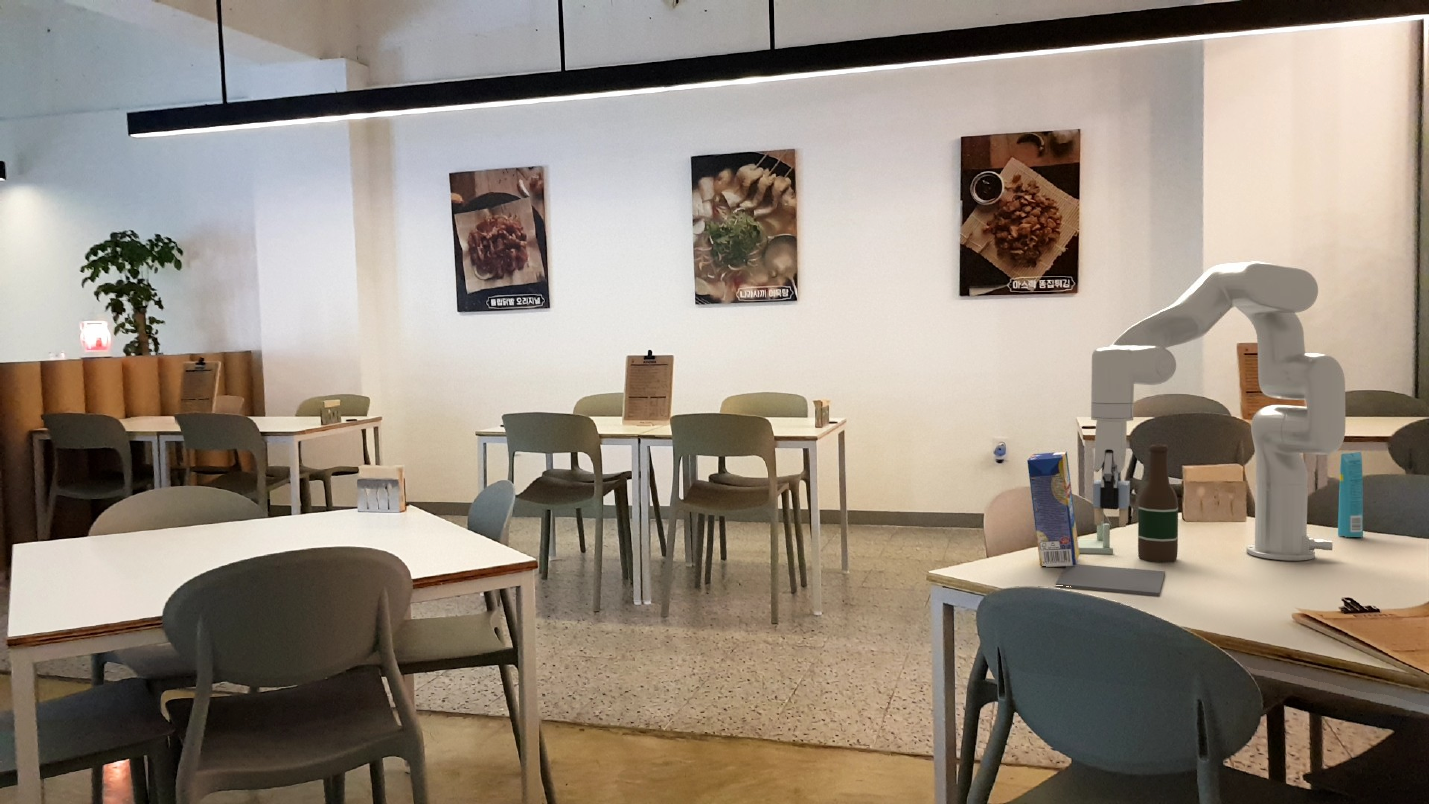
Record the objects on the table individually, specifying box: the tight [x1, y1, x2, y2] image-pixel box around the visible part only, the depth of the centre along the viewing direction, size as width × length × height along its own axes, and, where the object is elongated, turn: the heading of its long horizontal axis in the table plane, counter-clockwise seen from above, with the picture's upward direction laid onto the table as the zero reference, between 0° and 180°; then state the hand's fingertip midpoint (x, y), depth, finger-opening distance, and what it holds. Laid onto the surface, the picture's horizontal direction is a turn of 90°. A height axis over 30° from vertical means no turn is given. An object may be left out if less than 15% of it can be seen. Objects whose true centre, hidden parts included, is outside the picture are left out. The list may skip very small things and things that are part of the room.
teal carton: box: [1337, 451, 1364, 538], centre depth 230 cm, size 7×5×19 cm, turn 124°
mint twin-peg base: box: [1077, 518, 1114, 555], centre depth 223 cm, size 10×10×6 cm
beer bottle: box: [1137, 443, 1179, 564], centre depth 211 cm, size 8×8×24 cm
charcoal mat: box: [1054, 563, 1166, 597], centre depth 195 cm, size 18×18×1 cm
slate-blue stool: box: [1092, 479, 1131, 528], centre depth 194 cm, size 6×6×8 cm
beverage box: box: [1026, 451, 1080, 568], centre depth 210 cm, size 7×11×22 cm, turn 156°
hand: (1111, 505), depth 194 cm, fingers closed on slate-blue stool, 6 cm apart
